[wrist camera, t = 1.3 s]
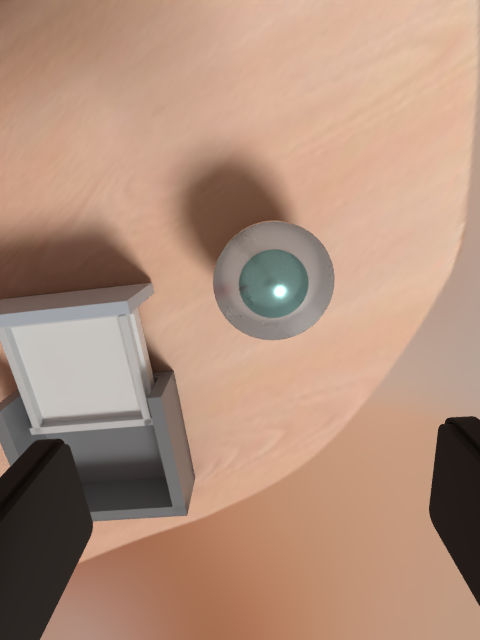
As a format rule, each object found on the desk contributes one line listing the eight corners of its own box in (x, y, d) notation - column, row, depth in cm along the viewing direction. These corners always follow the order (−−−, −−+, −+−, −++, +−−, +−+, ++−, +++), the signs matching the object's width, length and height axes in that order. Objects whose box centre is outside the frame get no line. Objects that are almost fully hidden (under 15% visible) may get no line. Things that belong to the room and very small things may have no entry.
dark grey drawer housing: (23, 384, 28) (-13, 412, 24) (173, 370, 27) (161, 397, 23) (60, 486, 32) (34, 524, 28) (195, 477, 31) (187, 515, 27)
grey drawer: (-8, 300, 26) (-71, 322, 21) (152, 282, 25) (127, 300, 20) (35, 418, 29) (-10, 462, 24) (177, 406, 28) (161, 449, 23)
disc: (209, 227, 20) (204, 229, 18) (325, 213, 20) (333, 213, 18) (224, 335, 22) (221, 346, 20) (329, 324, 22) (336, 335, 20)
